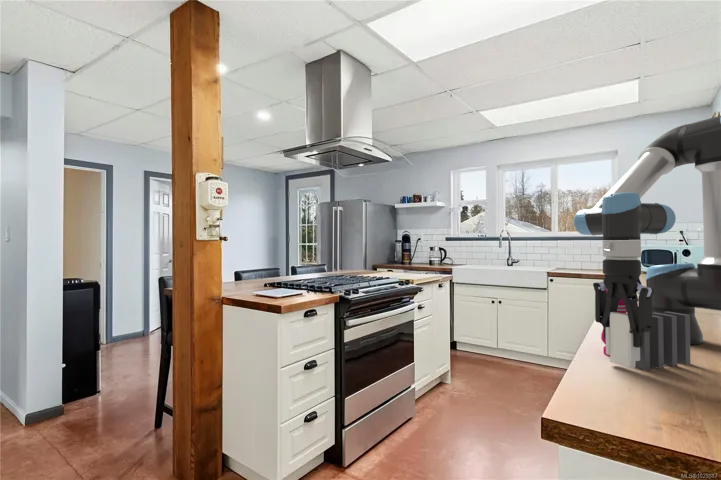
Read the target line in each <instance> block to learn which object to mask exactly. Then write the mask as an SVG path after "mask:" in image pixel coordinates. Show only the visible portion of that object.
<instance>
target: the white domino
mask: <svg viewBox="0 0 721 480" xmlns="http://www.w3.org/2000/svg"><path fill="white" fill-rule="evenodd" d="M629 331H631V327H630V323H629V319H628V315H627V313H626V314H625V313H619V312H610V356H609V362H610V363H612V364H617V365H619V366H622V367H626V368H628V369H634V368H635V361H633V362H631V361H628V332H629Z"/></svg>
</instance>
